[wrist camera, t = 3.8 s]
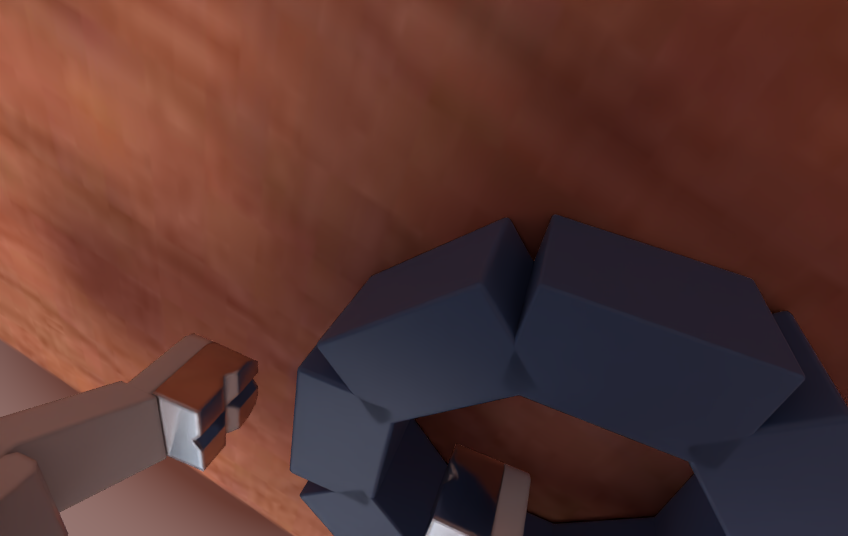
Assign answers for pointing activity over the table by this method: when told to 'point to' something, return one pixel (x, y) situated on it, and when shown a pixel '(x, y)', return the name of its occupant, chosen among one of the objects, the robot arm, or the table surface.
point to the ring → (573, 383)
